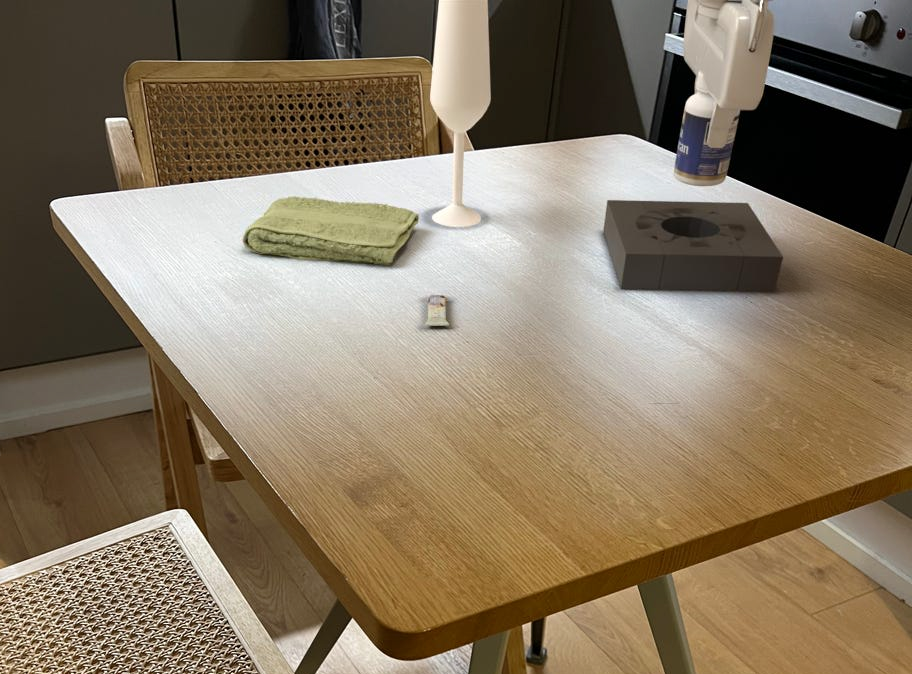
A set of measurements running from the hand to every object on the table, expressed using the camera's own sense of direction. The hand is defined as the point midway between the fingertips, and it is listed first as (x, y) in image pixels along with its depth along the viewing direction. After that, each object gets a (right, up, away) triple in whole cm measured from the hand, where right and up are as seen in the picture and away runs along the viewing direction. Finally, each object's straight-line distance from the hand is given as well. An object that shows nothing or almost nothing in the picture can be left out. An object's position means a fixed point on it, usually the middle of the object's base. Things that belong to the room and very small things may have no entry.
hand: (707, 135), depth 98 cm
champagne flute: (-25, -1, +18) cm, 31 cm away
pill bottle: (0, -3, +3) cm, 4 cm away
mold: (0, -10, +9) cm, 13 cm away
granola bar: (-27, -19, -2) cm, 33 cm away
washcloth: (-39, -6, +12) cm, 41 cm away
